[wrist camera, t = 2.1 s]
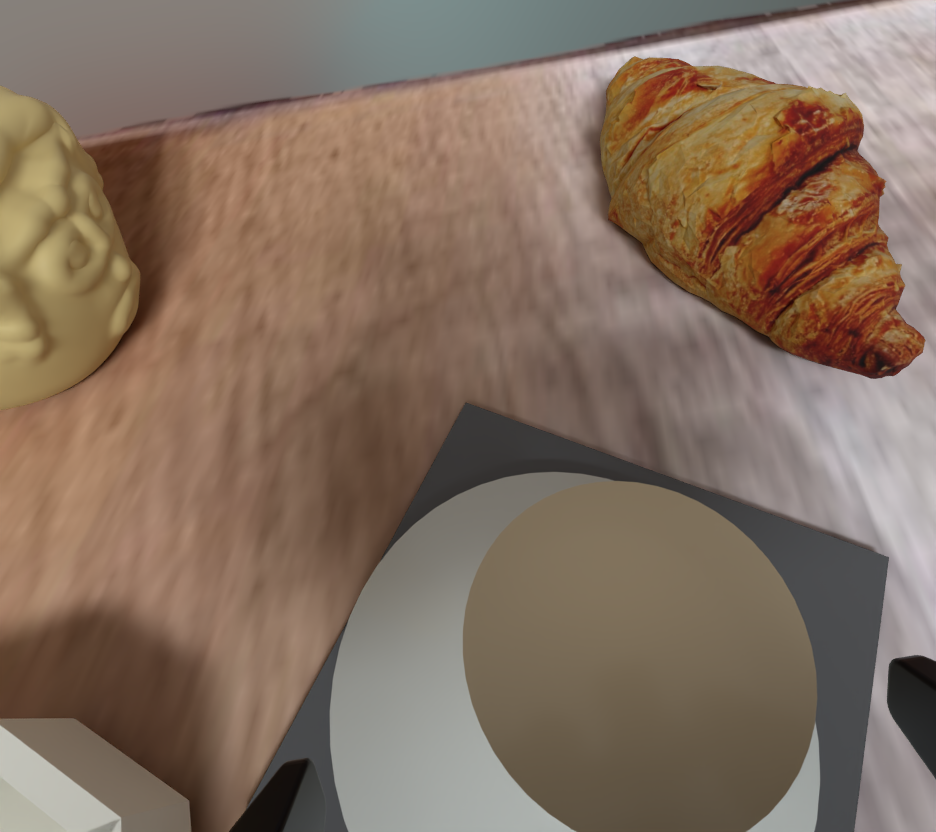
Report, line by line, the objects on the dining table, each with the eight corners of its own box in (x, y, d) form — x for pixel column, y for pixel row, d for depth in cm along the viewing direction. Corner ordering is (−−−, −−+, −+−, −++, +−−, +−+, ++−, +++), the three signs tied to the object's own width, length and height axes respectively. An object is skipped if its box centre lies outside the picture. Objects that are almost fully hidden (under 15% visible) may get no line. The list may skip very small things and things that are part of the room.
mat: (881, 560, 17) (889, 557, 17) (796, 1206, 11) (804, 1222, 11) (466, 407, 22) (465, 402, 21) (245, 819, 16) (239, 822, 15)
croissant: (567, 173, 33) (505, 70, 27) (720, 51, 30) (690, -100, 24) (775, 462, 23) (754, 403, 16) (1049, 322, 19) (1157, 181, 13)
